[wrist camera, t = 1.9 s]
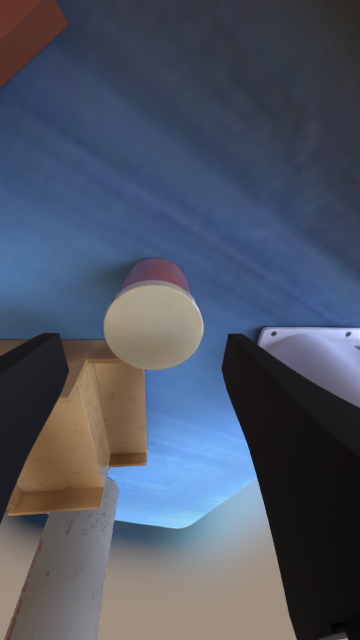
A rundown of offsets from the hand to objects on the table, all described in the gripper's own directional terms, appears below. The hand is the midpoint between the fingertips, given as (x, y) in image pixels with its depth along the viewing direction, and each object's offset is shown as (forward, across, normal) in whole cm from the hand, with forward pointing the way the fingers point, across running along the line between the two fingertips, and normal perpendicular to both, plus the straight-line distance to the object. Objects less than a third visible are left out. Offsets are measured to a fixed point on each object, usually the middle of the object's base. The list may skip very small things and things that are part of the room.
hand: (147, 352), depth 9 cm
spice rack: (+7, +7, +12) cm, 16 cm away
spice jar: (+7, 0, 0) cm, 7 cm away
